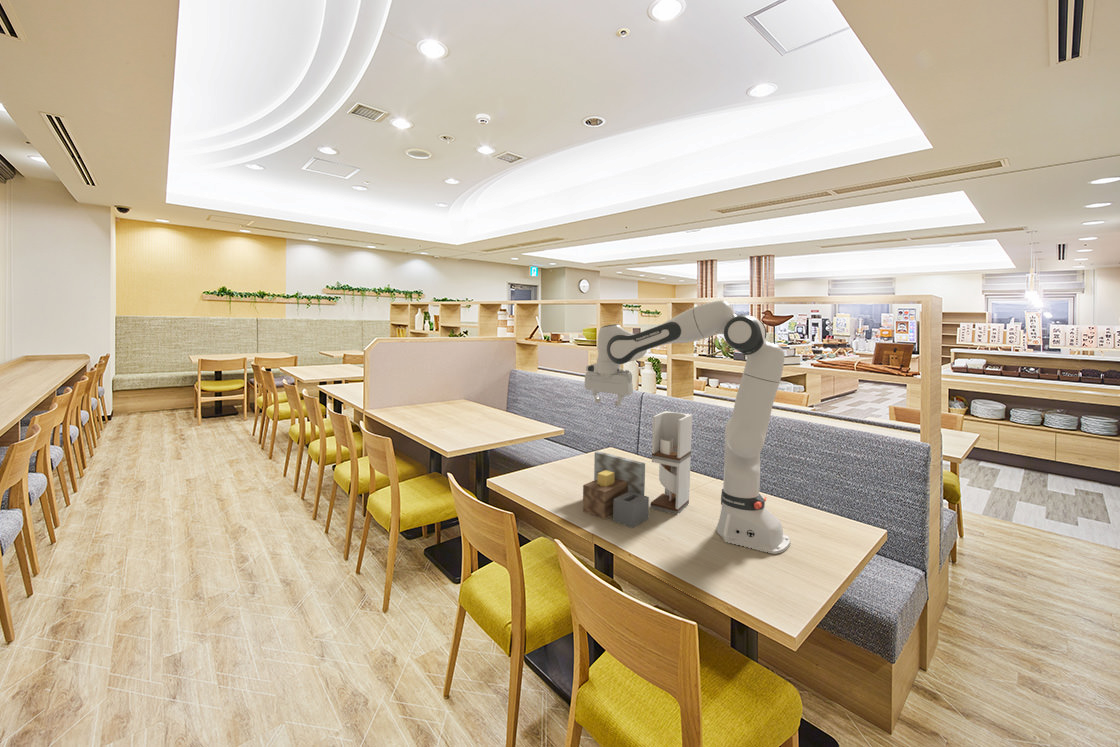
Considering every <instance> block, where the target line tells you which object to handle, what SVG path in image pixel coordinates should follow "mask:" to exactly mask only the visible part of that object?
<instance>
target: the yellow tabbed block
mask: <svg viewBox="0 0 1120 747" xmlns="http://www.w3.org/2000/svg"><path fill="white" fill-rule="evenodd" d="M614 475H615V473H614V472H611V471H607V470H605V471H602V472H600V473H598V479H597V484H599V485H600V486H609V485H611V484H613V483H614Z"/></svg>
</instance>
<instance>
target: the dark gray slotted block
mask: <svg viewBox="0 0 1120 747" xmlns="http://www.w3.org/2000/svg"><path fill="white" fill-rule="evenodd" d="M649 499H650V497H649V496H647V495H645V494H644V495H641V494H637V493H634V492H631V491H629V492H627V493H625V494H623V495H621V496H619V497H617V498H615V499H614V502H613V515H612V522H615V523H617V524H621V525H623V526H626V527H629V528H631V529H632V528H634V527H636V526H639V525H640V524H641V523H643V522H645V521H647V520H648V519H649V505H650V503H649V502H650V500H649Z"/></svg>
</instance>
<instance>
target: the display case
mask: <svg viewBox="0 0 1120 747" xmlns="http://www.w3.org/2000/svg"><path fill="white" fill-rule="evenodd" d="M692 431H693V414H690V413H682V412H676V411H675V412H673V411H667V410H665V411H662V412H660V413H658V414H656V415H653V416H652V441H651V446H652V447H651V462H652V463H655V464H659V467H658V468H659V471H658V480H659V482H660V484H661V485H662V486H663V487H664V493H663V492H662V493H661V494H660V495H658V497H656V498H655V499H654V500H652V501H651V502H650V503H649V505H650V509H653V510H658V511H661V512H666V513H668V512H670V513H669V514H672V513H673V515H676V514H678V513H679V514H680V513H681V512H682V511H684V510H685V509H686V508H687V507H688V506H689V505H690V485H691V484H690V481H691V460H692V456H691V455H692V434H693V433H692ZM688 504H689V505H688ZM687 505H688V506H687ZM686 506H687V507H686ZM685 507H686V508H685ZM684 508H685V509H684ZM679 514H678V515H679Z"/></svg>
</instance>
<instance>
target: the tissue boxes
mask: <svg viewBox="0 0 1120 747" xmlns="http://www.w3.org/2000/svg"><path fill="white" fill-rule="evenodd" d="M605 470H607V471H611V472H614V473H615V475H614V483H613V484H611V485H609V486H600V485H599V484H597V479H598V473H600V472H602V471H605ZM593 472H594V473H593V476H594V479H593V480H592V481H589V482H587V483H584V484H583V485H582V487H583V488H582V512H584V513H587V514H589V513H590V515H592V514H593V515H592V516H595V517H598V518H601V519H604V520H606V519H608V518H610V517H611V516H612V517H613V502H614V499H615V498H617V497H619V496H621V495H623V494H625V493H627V492H629V491H631V492H634V493H637V494H641V495H644V496H645V488H646V486H645V485H646V484H645V483H646V482H645V481H646V480H645V479H646V463H645V462H641V461H637V460H635V459H630V458H626V457H622V456H617V455H614V454H609V453H606V452H602V451H598V450H597V451H594V471H593Z"/></svg>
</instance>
